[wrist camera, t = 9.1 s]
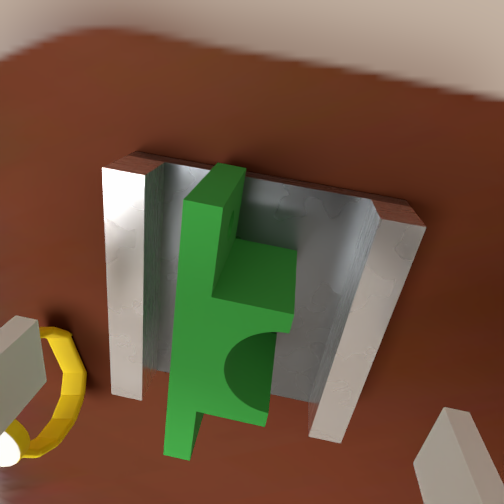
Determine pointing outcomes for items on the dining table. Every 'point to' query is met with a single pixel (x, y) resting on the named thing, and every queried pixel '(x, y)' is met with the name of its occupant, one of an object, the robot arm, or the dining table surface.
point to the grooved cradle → (270, 233)
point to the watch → (72, 395)
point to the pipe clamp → (224, 314)
